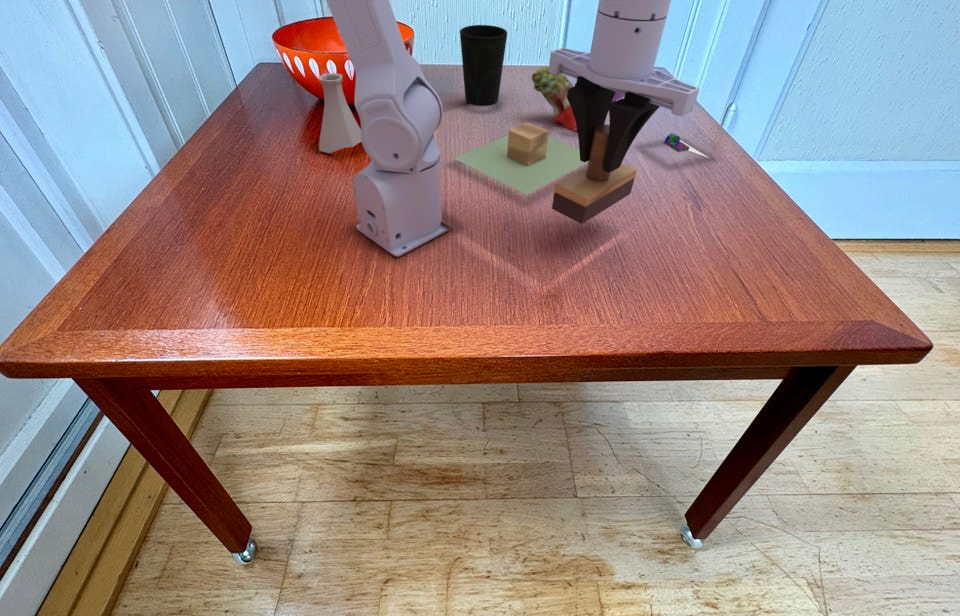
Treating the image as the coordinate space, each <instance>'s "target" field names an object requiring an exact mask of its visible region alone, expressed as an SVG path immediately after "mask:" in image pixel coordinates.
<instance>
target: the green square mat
mask: <svg viewBox="0 0 960 616" xmlns="http://www.w3.org/2000/svg"><path fill="white" fill-rule="evenodd" d="M507 149H508V134H507V135H504V136H501V137H500V138H497V139H494V140H492V141H490V142H488V143H485V144H482V145H480V146H478V147H476V148H473V149H471V150H468V151H466V152H463V153H461V154H459V155H457V156H455V157H452V159H453V160H454V161H457V162H459V163H461V164H463V165H465V166H467V167H469V168H471V169H473V170H475V171H476V172H479V173H481V174H483V175H484V176H487V177H489V178H491V179H493V180H495V181H497V182H499V183H500V184H502V185H505V186H507V187H508V188H511V189H513V190H515V191H517V192H518V193H520V194H522V195H524V196H529V195H530V194H533V193H534V192H535V191H538V190H540V189H542V188H543V187H546V186H547V185H549V184H550V183H553V182H555V181H556V180H559V179H561V178H562V177H564V176H567V175H568V174H570V173H571V172H573V171H575V170H577V169H579V168H581V167H582V166H584V165H586V164H587V165H588V161H587V162H583V161H580V151H579V147H578V148H577V147H575V146H573V145H570V144H568V143H565V142H563V141H560V140H558V139H556V138H554V137H552V136H549V135H548V143H547V151H546V158H544V159H542V160H540V161H538V162H536V163H534V164H532V165H530V166H526V165H524V164H521V163H519V162H517V161H515V160H513V159H511V158H509V157H507Z"/></svg>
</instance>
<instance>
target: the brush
mask: <svg viewBox="0 0 960 616" xmlns="http://www.w3.org/2000/svg"><path fill="white" fill-rule="evenodd" d="M609 127H610V124H604V125H598V126H596V127H595V130H594V135H593V140H592V145H591V150H590V156H589V161H588V163H587V166H585V167H583V168H582V169H580V170H578V171H576V172H574V173H572V174H571V175H569V176H567V177H565V178H563V179H561V180H559V181H558V182H556V183H555V184H554V191H553V198H552V205H551V209H552V210H553V211H556V212H557V213H559V214H561V215H563V216H565V217H567V218H569V219H571V220H573V221H574V222H577V223H579V224H580V225H584V224H585V223H586V222H588V221H590V220H591V219H593V218H594V217H596V216H597V215H599V214H601V213H602V212H604V211H606V210H607V209H609V208H610V207H612V206H614V205H615V204H617V203H619V202H620V201H622V200H623V199H625V198H626V197H628V196H629V195H631V193H632V189H633V186H634V181H635V178H636V174H637V171H638V169H637V168H635V167H632V166H631V165H630V166H629V165H627V164H625V163H623V162H622V163H621V166H620V167H619V168H617V169H616V170H614V171H612V172H610V173H608V172H606V171H603V167H604V159H605V154H606V150H607V145H608V140H609Z"/></svg>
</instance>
